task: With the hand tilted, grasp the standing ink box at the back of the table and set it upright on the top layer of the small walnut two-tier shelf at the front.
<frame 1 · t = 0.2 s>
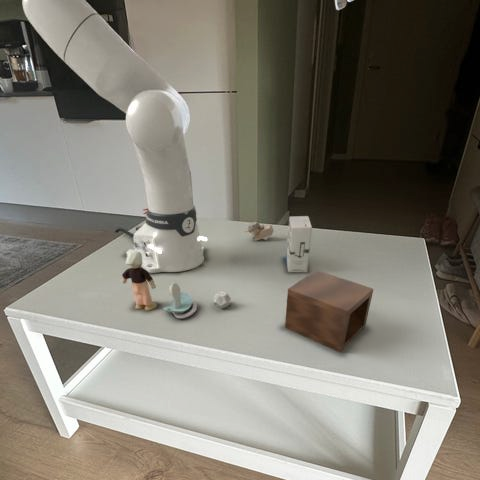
hand: (347, 4, 68), 52 cm above the table, tool tilted 20°, fingers open, 8 cm apart
toy character: (258, 239, 110), on the table
grandmother figurine: (143, 306, 79), on the table
ink box: (296, 266, 95), on the table
shelf: (324, 327, 71), on the table
pacifier: (182, 312, 77), on the table
game die: (222, 306, 79), on the table
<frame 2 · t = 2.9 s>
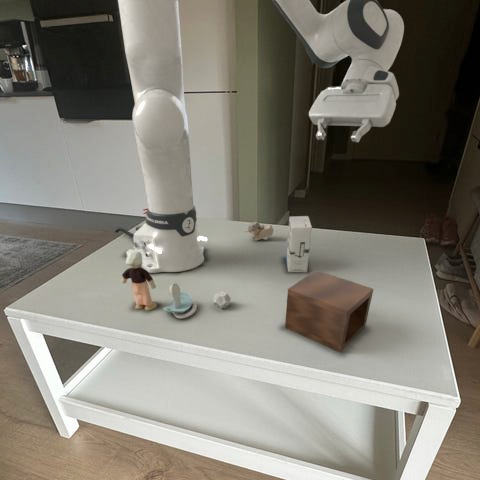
hand: (336, 139, 86), 28 cm above the table, tool tilted 40°, fingers open, 8 cm apart
nothing on the table moved.
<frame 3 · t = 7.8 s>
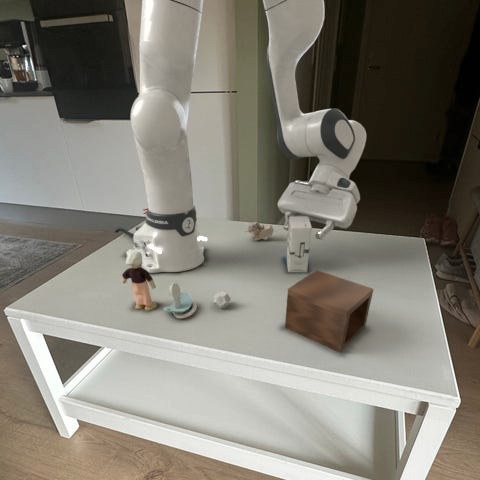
hand: (301, 233, 91), 8 cm above the table, tool tilted 45°, fingers open, 8 cm apart
nothing on the table moved.
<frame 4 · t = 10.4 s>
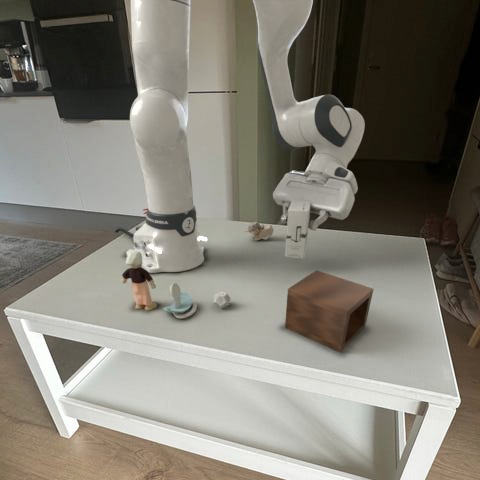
hand: (297, 225, 88), 11 cm above the table, tool tilted 45°, fingers closed on ink box, 6 cm apart
ink box: (296, 251, 92), point 4 cm above the table, touching gripper
everything else where it was.
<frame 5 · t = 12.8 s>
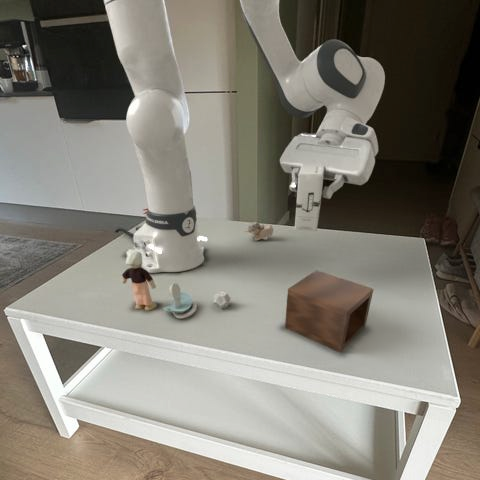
hand: (308, 193, 77), 20 cm above the table, tool tilted 45°, fingers closed on ink box, 6 cm apart
ink box: (306, 224, 81), point 14 cm above the table, touching gripper
everything else where it was.
when the fingers open (15 cm above the table, at t = 17.4 s): ink box stays where it is, resting on shelf.
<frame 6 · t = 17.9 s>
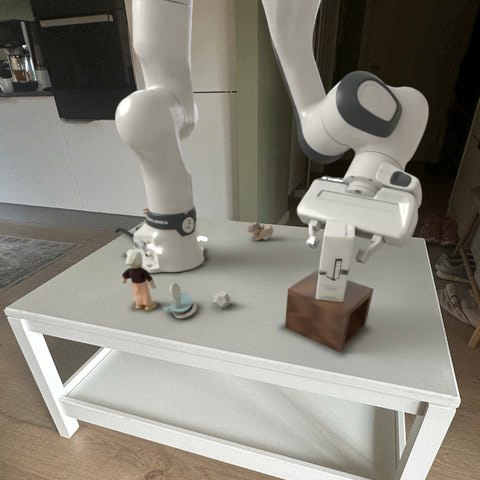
hand: (334, 254, 62), 16 cm above the table, tool tilted 45°, fingers open, 8 cm apart
ink box: (330, 290, 66), point 9 cm above the table, touching shelf
everything else where it was.
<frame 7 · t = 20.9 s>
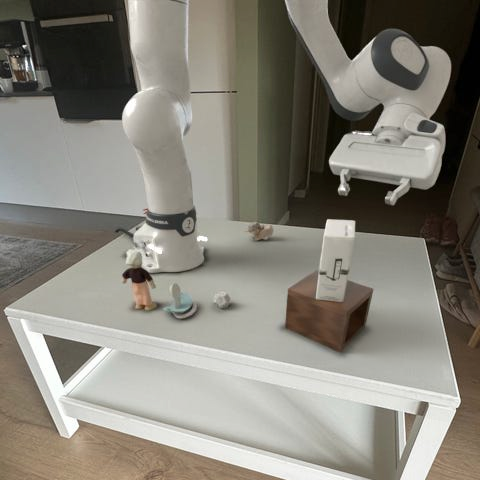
hand: (364, 198, 69), 22 cm above the table, tool tilted 45°, fingers open, 8 cm apart
nothing on the table moved.
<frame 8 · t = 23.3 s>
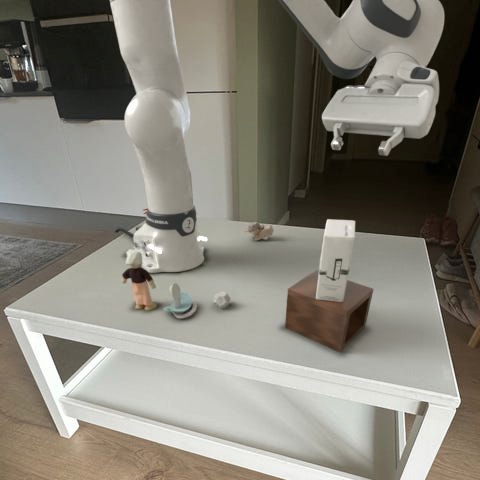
hand: (357, 150, 68), 29 cm above the table, tool tilted 45°, fingers open, 8 cm apart
nothing on the table moved.
at the end: ink box inside the target area on the shelf (0.4 cm from its centre), point 8.6 cm above the shelf's base; ink box tilted 0°; the gripper is holding nothing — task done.
